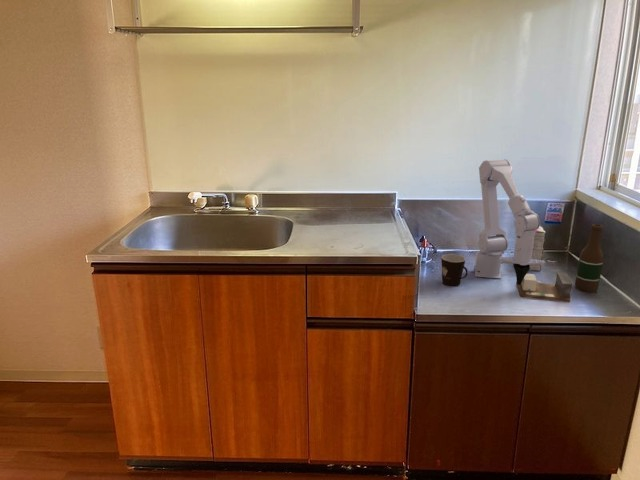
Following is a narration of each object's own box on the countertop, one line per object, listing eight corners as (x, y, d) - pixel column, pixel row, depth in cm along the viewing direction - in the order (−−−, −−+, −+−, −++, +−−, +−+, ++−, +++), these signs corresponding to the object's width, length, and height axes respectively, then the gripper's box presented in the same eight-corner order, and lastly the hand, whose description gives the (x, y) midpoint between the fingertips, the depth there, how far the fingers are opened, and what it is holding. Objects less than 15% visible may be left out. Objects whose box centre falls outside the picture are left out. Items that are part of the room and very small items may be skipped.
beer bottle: (578, 282, 183) (589, 220, 175) (601, 288, 177) (613, 225, 170) (570, 288, 177) (581, 225, 170) (593, 294, 172) (606, 229, 165)
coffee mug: (437, 278, 186) (439, 253, 183) (459, 278, 186) (462, 254, 183) (443, 291, 175) (445, 265, 172) (467, 291, 175) (470, 265, 172)
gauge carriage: (524, 293, 170) (525, 282, 169) (520, 283, 178) (522, 273, 177) (542, 295, 168) (544, 284, 167) (538, 285, 176) (540, 274, 175)
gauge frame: (519, 297, 170) (522, 280, 168) (516, 283, 181) (518, 268, 179) (570, 302, 167) (572, 285, 165) (563, 288, 178) (565, 272, 176)
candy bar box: (522, 260, 204) (527, 223, 199) (534, 261, 203) (540, 223, 198) (527, 270, 194) (533, 231, 189) (540, 271, 193) (546, 231, 188)
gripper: (502, 249, 168) (498, 286, 172) (548, 253, 164) (542, 290, 169) (500, 243, 174) (496, 278, 179) (544, 246, 171) (539, 282, 175)
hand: (518, 283), depth 174 cm, fingers closed
